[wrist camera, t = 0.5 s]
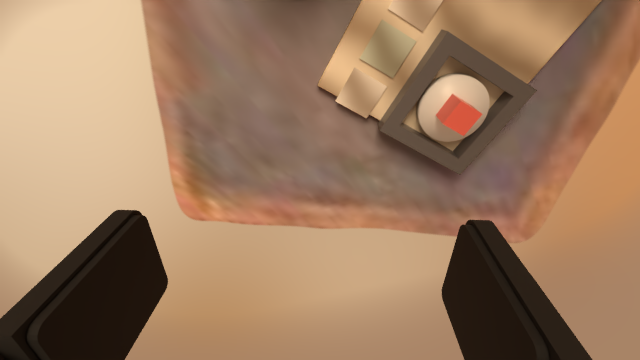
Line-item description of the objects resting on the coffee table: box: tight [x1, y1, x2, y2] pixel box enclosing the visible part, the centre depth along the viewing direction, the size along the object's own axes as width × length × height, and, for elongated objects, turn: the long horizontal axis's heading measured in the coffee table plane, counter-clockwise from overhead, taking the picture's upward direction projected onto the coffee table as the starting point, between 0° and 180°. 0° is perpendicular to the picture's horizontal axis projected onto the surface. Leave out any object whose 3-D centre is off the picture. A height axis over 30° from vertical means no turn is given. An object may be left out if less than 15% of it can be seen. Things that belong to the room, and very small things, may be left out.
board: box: [318, 0, 601, 151], centre depth 30 cm, size 24×19×1 cm
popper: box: [416, 73, 490, 142], centre depth 31 cm, size 7×7×4 cm
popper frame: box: [378, 29, 537, 175], centre depth 32 cm, size 11×11×2 cm
